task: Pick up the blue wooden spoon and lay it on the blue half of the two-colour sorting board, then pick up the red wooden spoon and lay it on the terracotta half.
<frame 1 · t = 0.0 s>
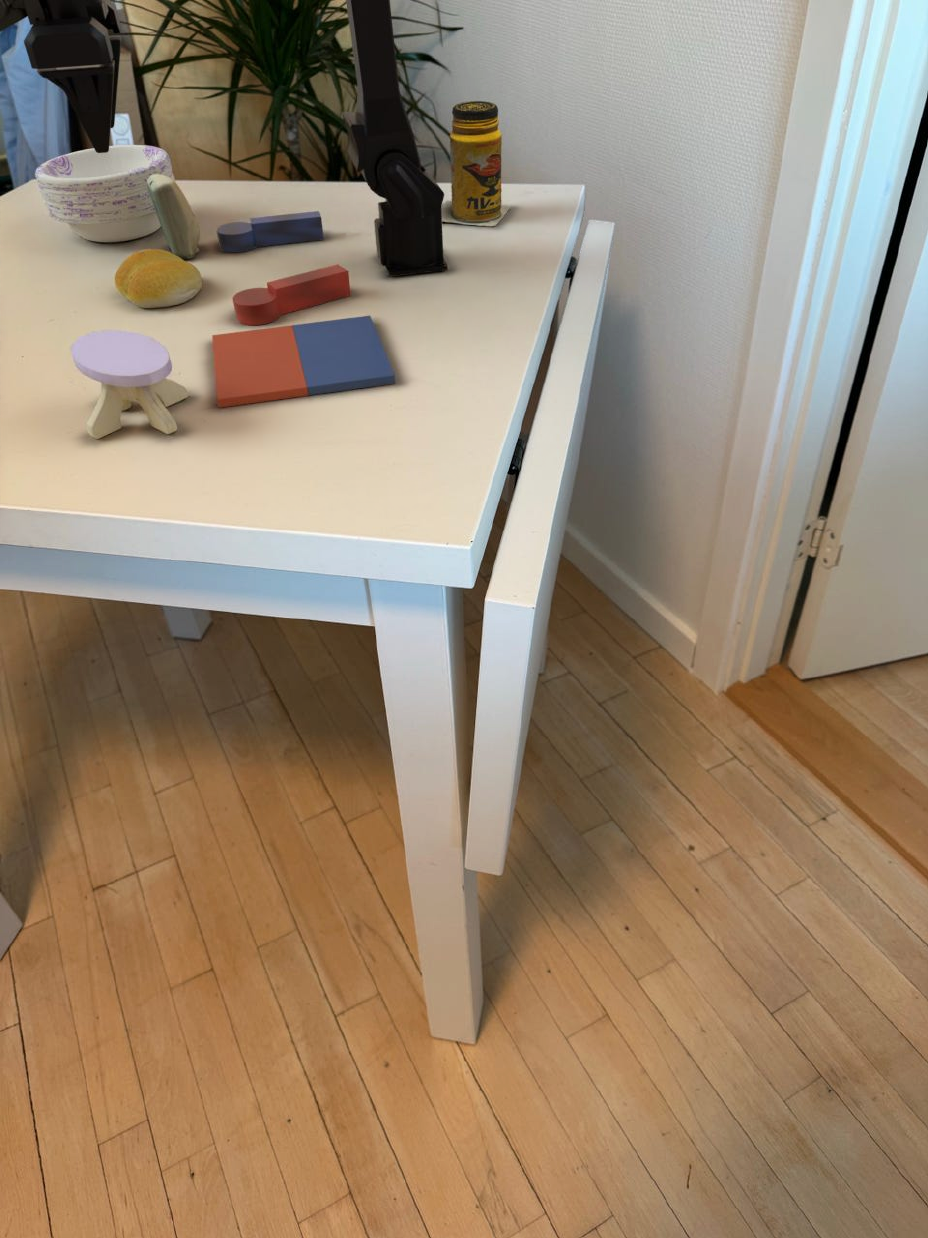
hand: (105, 139, 82), 15 cm above the table, tool pointing down, fingers open, 9 cm apart
red spoon: (311, 301, 89), on the table
green soap bar: (180, 253, 101), on the table
sorting board: (300, 362, 79), on the table
toy table: (141, 418, 72), on the table
paper bowls: (122, 232, 107), on the table
condiment: (470, 216, 108), on the table
blue spoon: (289, 240, 103), on the table
bread roll: (161, 295, 92), on the table
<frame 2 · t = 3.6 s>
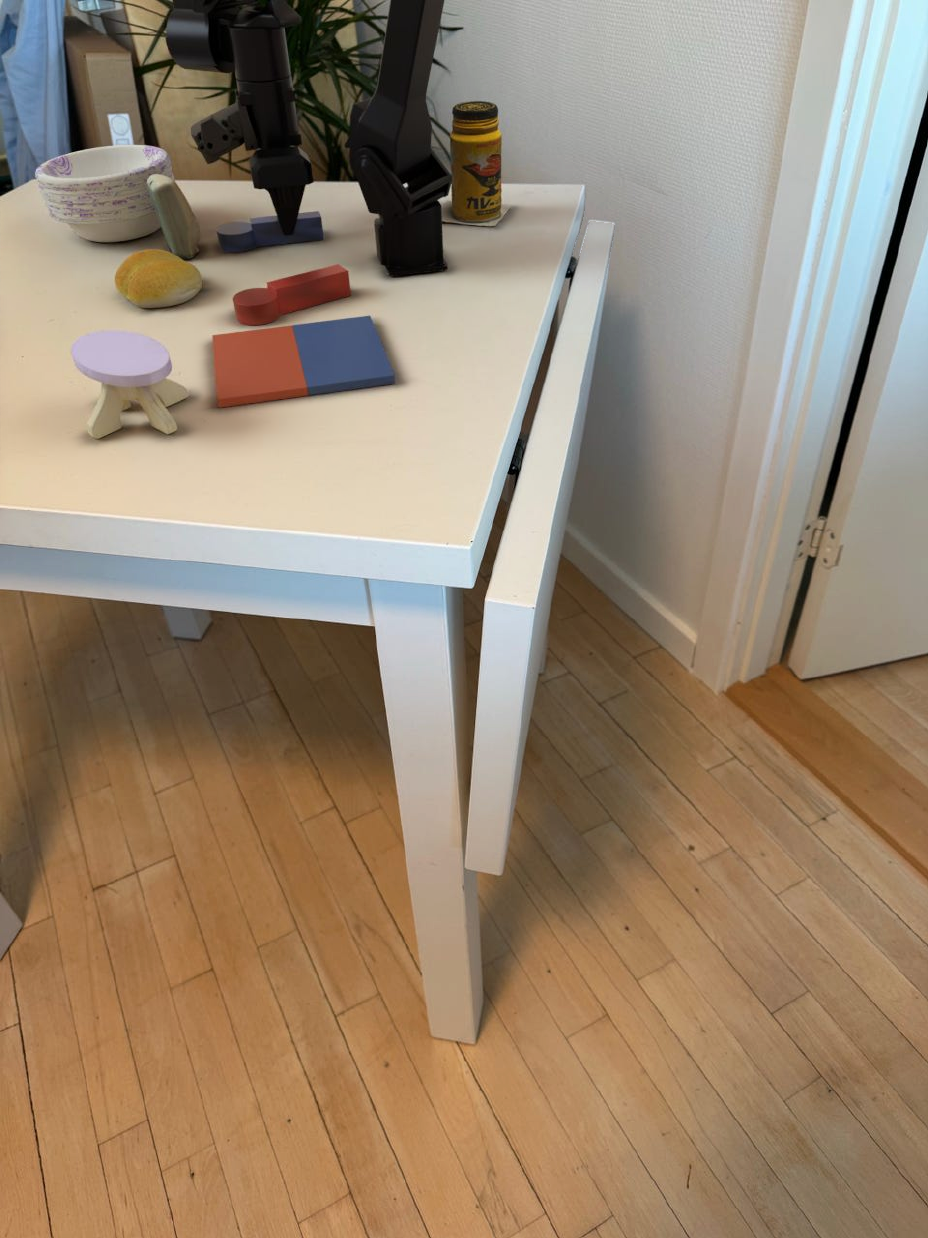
hand: (287, 231, 102), 1 cm above the table, tool pointing down, fingers closed on blue spoon, 2 cm apart
blue spoon: (289, 240, 103), on the table, touching gripper
everything else where it was.
when the fingers open (2 cm above the table, at t = 9.2 s): blue spoon stays where it is, resting on sorting board.
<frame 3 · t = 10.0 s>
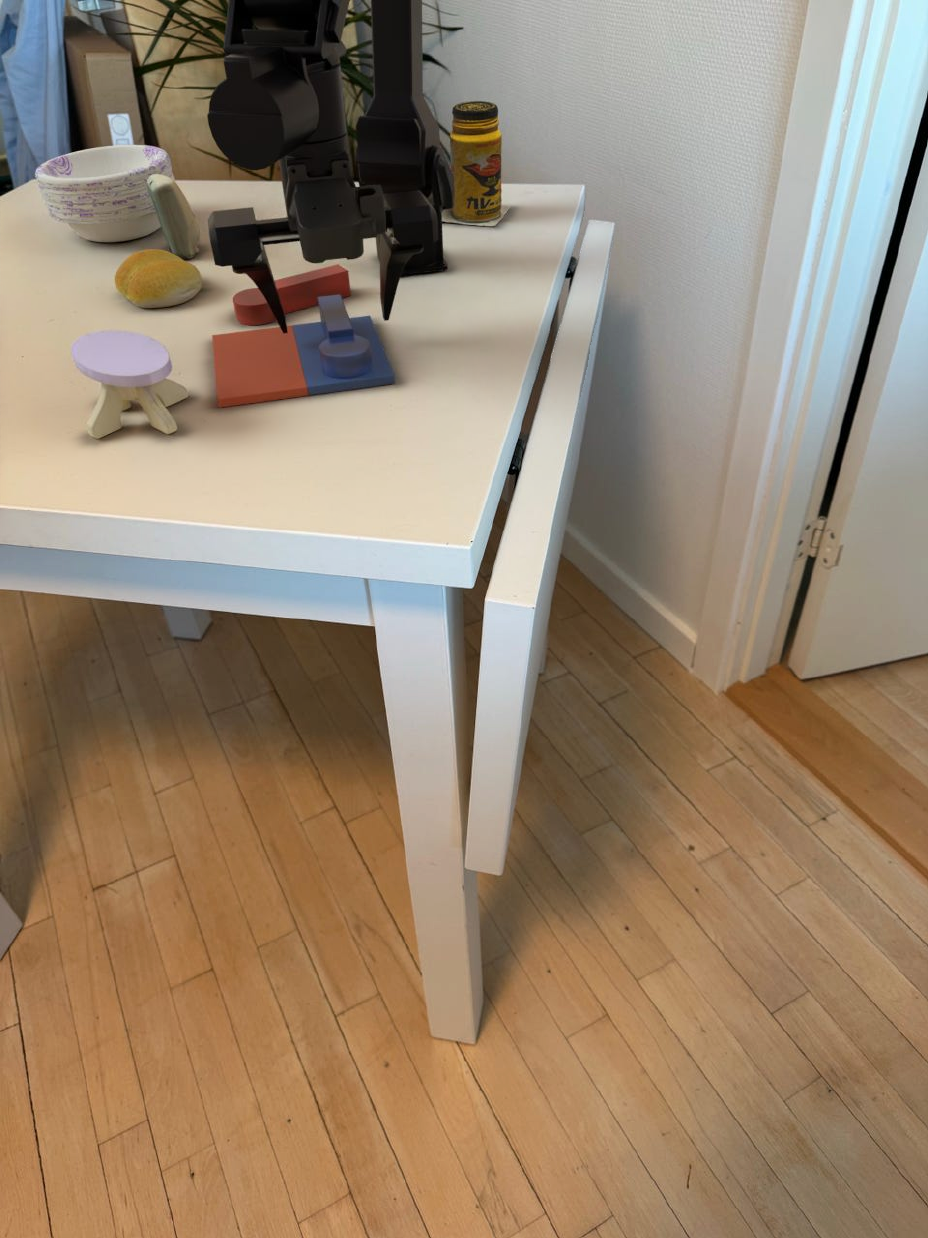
hand: (336, 325, 79), 2 cm above the table, tool pointing down, fingers open, 9 cm apart
blue spoon: (338, 339, 80), point 1 cm above the table, touching sorting board
everything else where it was.
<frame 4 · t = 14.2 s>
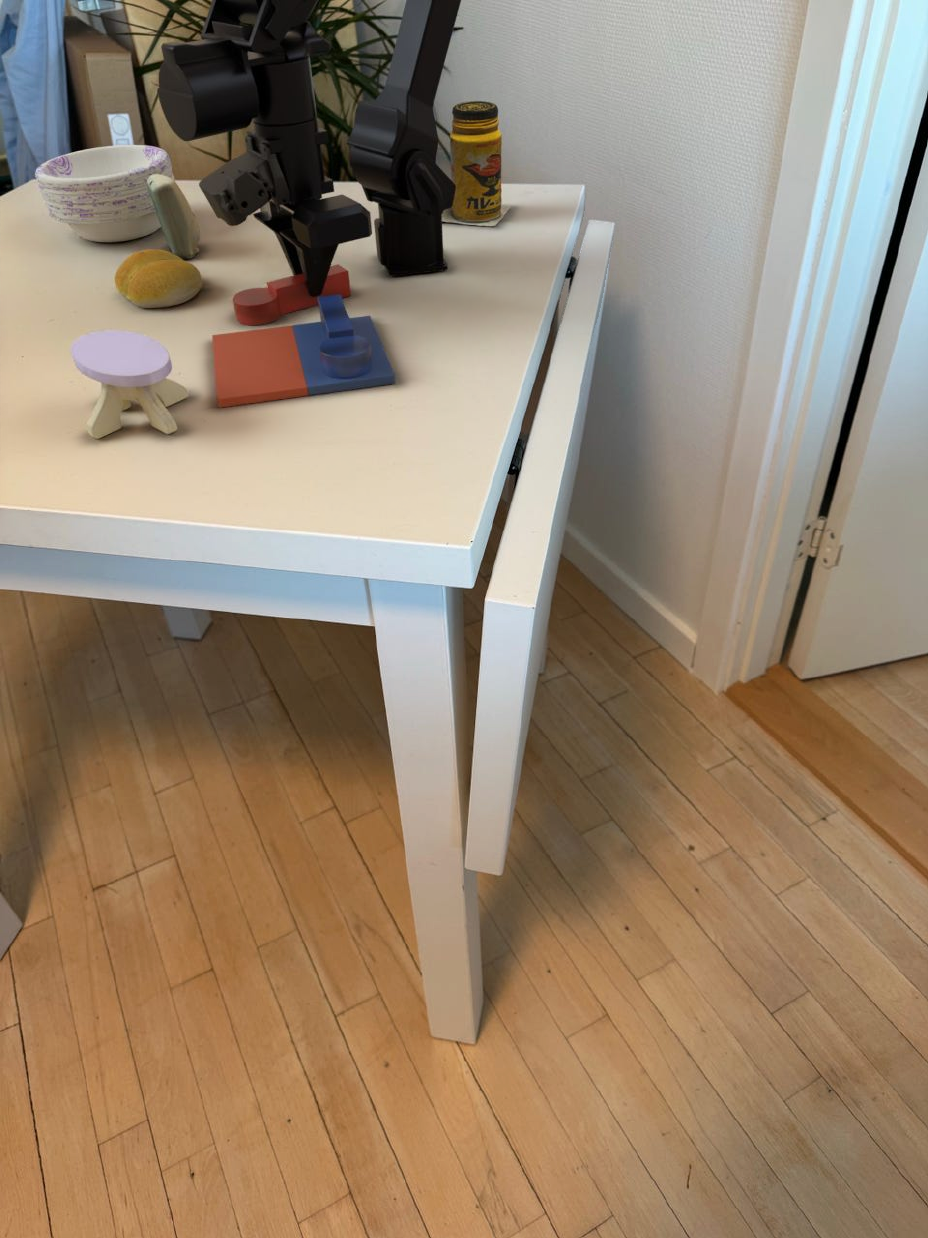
hand: (310, 291, 88), 1 cm above the table, tool pointing down, fingers closed on red spoon, 2 cm apart
red spoon: (311, 301, 89), on the table, touching gripper
everything else where it was.
when the fingers open (2 cm above the table, at t = 18.8 s): red spoon stays where it is, resting on sorting board.
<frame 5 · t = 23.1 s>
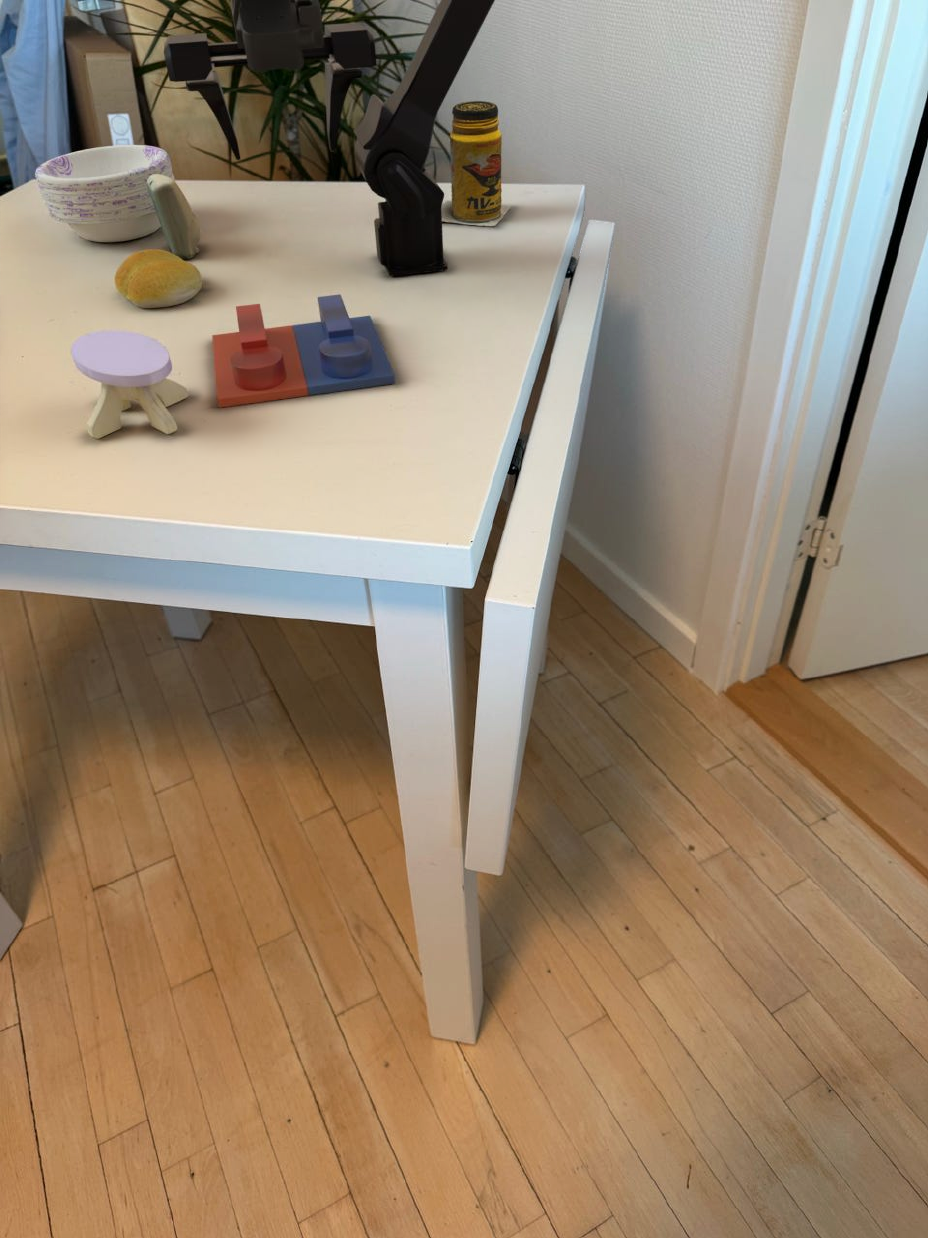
hand: (285, 154, 86), 12 cm above the table, tool pointing down, fingers open, 9 cm apart
red spoon: (256, 349, 79), point 1 cm above the table, touching sorting board
everything else where it was.
at the end: blue spoon inside the target area on the sorting board (2.0 cm from its centre), point 0.8 cm above the sorting board's base; red spoon inside the target area on the sorting board (2.0 cm from its centre), point 0.8 cm above the sorting board's base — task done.
